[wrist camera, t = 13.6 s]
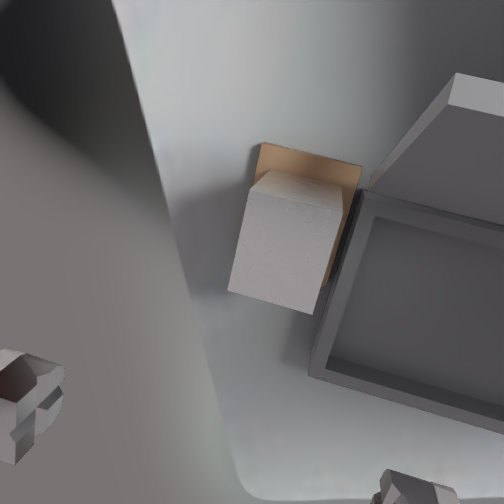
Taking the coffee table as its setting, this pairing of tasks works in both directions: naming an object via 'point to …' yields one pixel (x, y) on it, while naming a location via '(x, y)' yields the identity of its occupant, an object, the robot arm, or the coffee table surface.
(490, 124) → the lid
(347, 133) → the coffee table surface
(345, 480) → the coffee table surface
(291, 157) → the board
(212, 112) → the coffee table surface
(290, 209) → the block
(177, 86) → the coffee table surface
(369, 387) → the case
